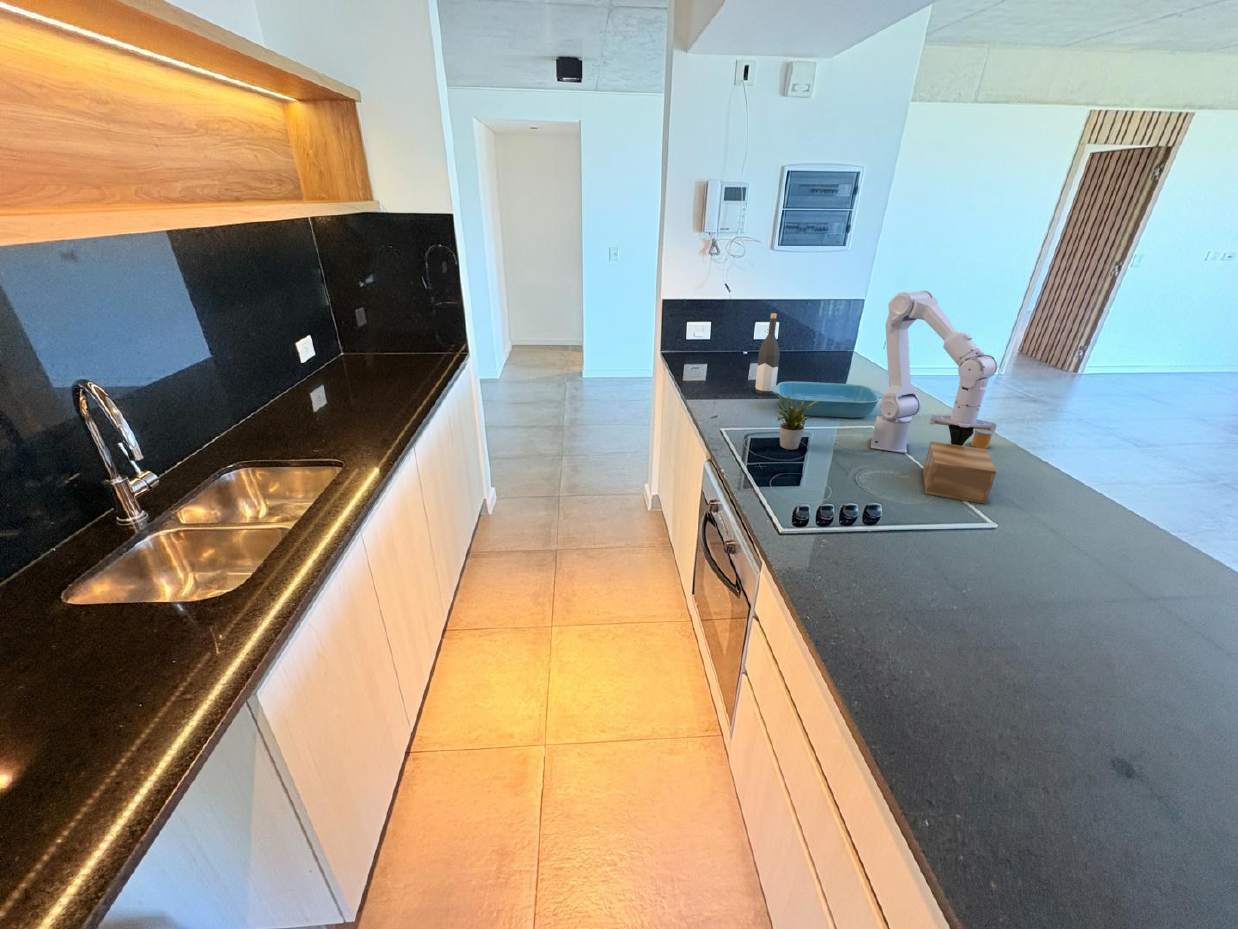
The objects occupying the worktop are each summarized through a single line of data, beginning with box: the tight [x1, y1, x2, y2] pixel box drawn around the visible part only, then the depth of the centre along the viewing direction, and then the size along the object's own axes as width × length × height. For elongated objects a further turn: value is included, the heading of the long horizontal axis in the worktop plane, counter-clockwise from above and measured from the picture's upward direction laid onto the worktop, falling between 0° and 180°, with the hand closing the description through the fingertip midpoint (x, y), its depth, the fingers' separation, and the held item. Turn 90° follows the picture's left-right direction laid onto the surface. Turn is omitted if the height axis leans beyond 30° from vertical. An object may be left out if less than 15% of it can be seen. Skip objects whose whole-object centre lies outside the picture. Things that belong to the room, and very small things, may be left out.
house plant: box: [772, 393, 818, 450], centre depth 155 cm, size 14×14×16 cm
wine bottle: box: [754, 312, 781, 396], centre depth 202 cm, size 8×8×30 cm
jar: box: [970, 429, 994, 449], centre depth 157 cm, size 5×5×5 cm
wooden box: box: [922, 441, 997, 505], centre depth 132 cm, size 15×13×9 cm
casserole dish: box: [772, 381, 883, 419], centre depth 187 cm, size 37×22×7 cm, turn 78°
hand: (953, 452), depth 140 cm, fingers closed
